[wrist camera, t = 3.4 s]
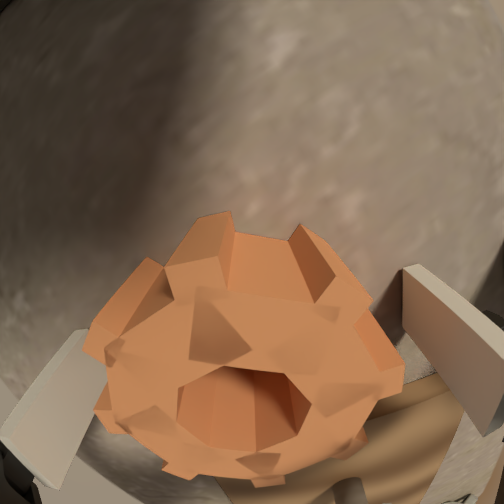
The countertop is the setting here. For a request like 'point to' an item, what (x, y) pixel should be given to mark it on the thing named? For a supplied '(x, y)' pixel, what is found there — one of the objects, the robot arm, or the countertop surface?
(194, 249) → the terracotta gear
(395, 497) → the walnut board
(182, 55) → the countertop surface
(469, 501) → the ceramic mug
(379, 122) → the countertop surface
